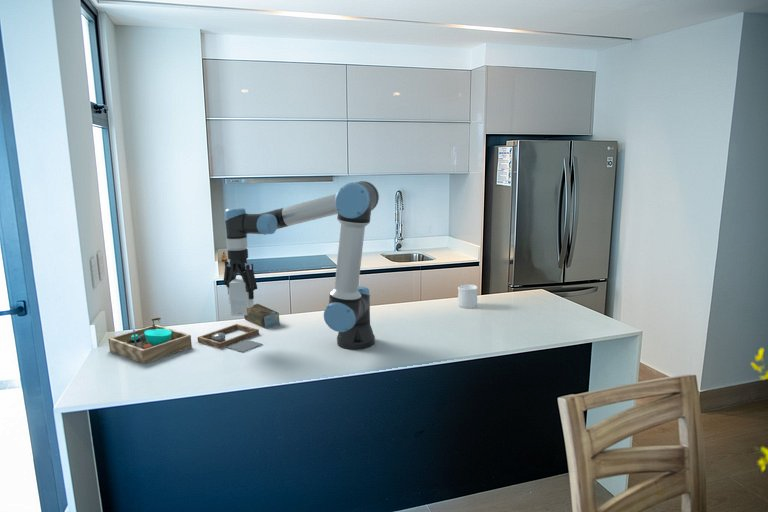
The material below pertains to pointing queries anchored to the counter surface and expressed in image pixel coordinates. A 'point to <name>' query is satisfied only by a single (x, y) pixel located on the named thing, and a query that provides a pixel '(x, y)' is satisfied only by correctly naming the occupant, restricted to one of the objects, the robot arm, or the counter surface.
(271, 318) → the beverage carton
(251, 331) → the frame
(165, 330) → the contraption on wooden base
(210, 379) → the counter surface
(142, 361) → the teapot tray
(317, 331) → the counter surface
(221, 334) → the tin
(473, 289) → the cup
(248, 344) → the mat
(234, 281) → the small box
